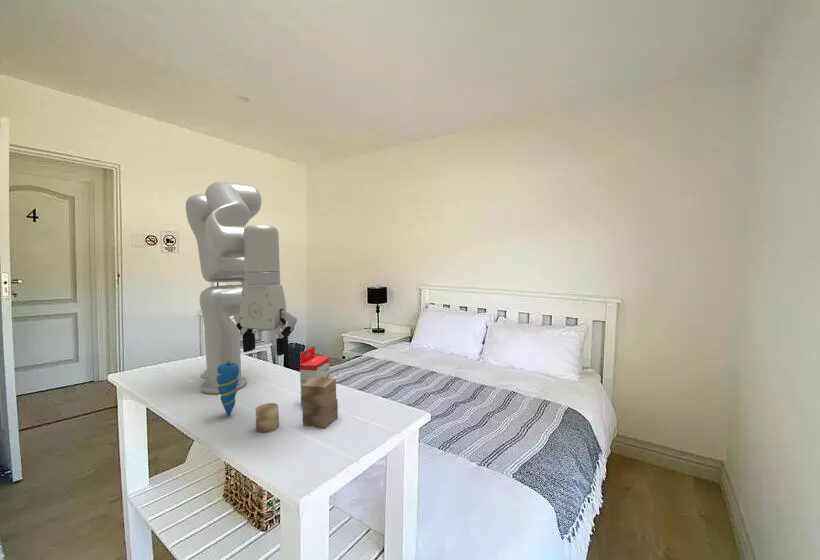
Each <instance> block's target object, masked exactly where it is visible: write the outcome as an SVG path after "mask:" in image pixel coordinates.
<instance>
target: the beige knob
mask: <svg viewBox="0 0 820 560" xmlns="http://www.w3.org/2000/svg"><path fill="white" fill-rule="evenodd" d="M255 427H256V432H257V433H261V434H267V433H272V432H274V431H277V430H279V427H280V412H279V404H277V403H274V402H268V403H263V404H260V405H258V406H257V407H256V408H255Z"/></svg>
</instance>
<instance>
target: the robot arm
mask: <svg viewBox="0 0 820 560" xmlns="http://www.w3.org/2000/svg"><path fill="white" fill-rule="evenodd" d="M261 207H262V196H261V193H260V191H259V190H258V188H256V187H255V186H253V185H250V184H245V183H244V184H243V183H238V182H237V183H236V182H228V181H215V182H213V183H210V184H209V185H208V186H207V188H206V190H205V192H204V194H203V193H202V194H201V193H199V194H192V195H190V196H189V197H188V198H187V199H186V202H185V214H186V218H187V219H186V220H187V222H188V225H189V227H190V229H191V231H192V233H193V236H195V237H194V238H195V240H196V243H197V250H198V257H199V264H200V271H201V275H202V278H203V279H204V281H206V282H208V283H238V282H239V283H240V284H228V285H227V284H226V285H215V286H214V285H213V286H208V287H206V288H205V289H203V290H202V291H201V292H200V294H199V306H200V311H201V314H202V320H203V327H204V328H203V329H204V345H205V364H206V366H205V367H206V370H204V371H203V373H201V374H200V375H199V378H200V379H204V383H203V384H202V385H201V392H203V393H205V394H208V395H209V394H211V395H214V394H215V395H217V394H219V395H220V392H219V390H218V386H219V384H218V382H217V376H218V370H217V369H218V367H219V366H220V365H222V364H225V363H226V361H227V360H230V363H236V364H237V365H238V368H239V374H238V377H237V378H238V384H237V386H236V389H237V390H239V389H242V388H244V387H246V385H247V384H248V379H247V378H246V377H244V376H242V364H241V363H242V361H241V341H240V335H241V336H242V352H243V353H248V352H252V351H253V350H254V351H255V349H256V334H255V332H254V331H255V330H258V331H272V330H273V331H274V333H275V334H276V335H277V337H278V338H276V341H275V344H276V348H275V349H276V356H277V357H281V356H283V355H286V354H288V353H289V337H290V336H291V333H292V332H293V331H294V329H295V326H296V324H297V321H298V319H297V318H296V317H295V316H293V315H292V314H290V313H289V312H287V305H286V303H287V302H286V297H285V292H284V289H283V287H284V286H283V285H282V284H281V270H280V269H281V266H280V265H281V263H280V238H279V237H280V235H279V230H278V228H276V226H273V225H269V224H268V225H267V224H251V225H247V224H248V223H249V221H250V220H251V219H253V218H254V217H255V216H256V215H258V213H259V211H260V210H261ZM246 225H247V226H246ZM231 317H233V319H234V321H233V320H232V319H231ZM229 358H230V359H229ZM226 359H227V360H226Z"/></svg>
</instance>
